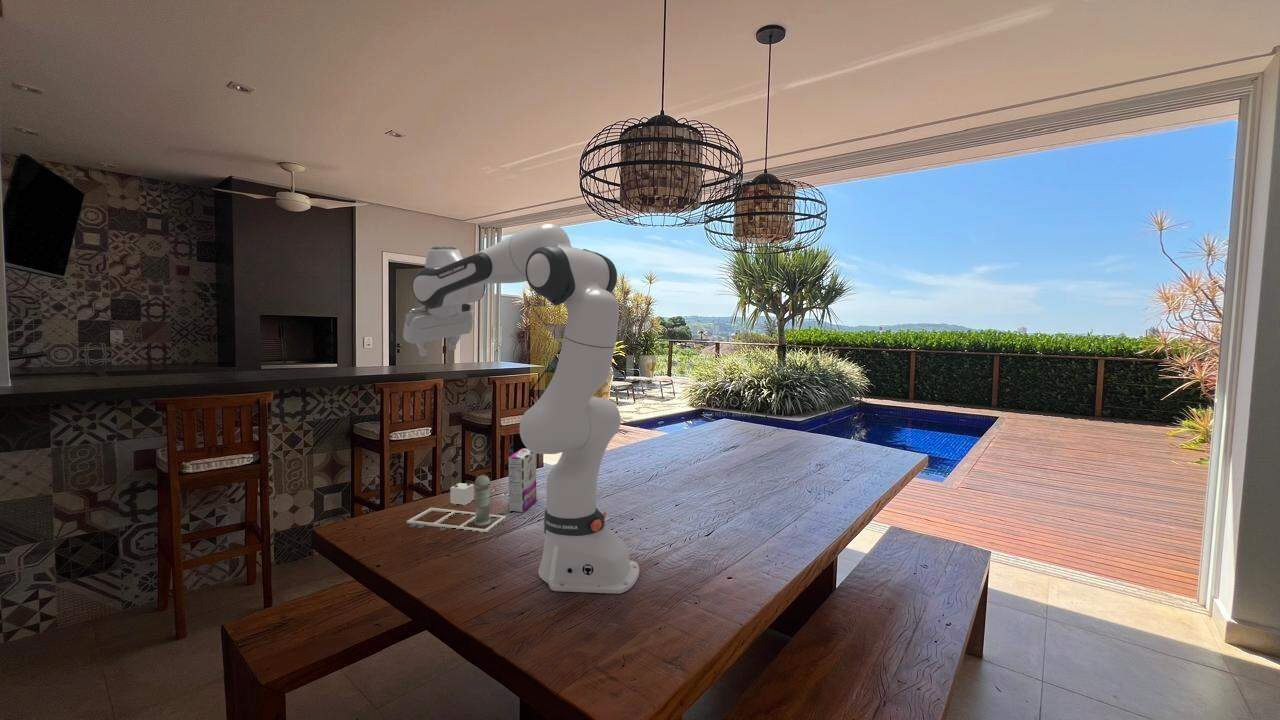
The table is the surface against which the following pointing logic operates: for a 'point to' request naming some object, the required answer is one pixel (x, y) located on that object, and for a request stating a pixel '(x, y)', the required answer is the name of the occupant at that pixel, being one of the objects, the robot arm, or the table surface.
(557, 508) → the robot arm
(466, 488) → the die
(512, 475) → the candy bar box
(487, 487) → the pawn
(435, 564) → the table surface
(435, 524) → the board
